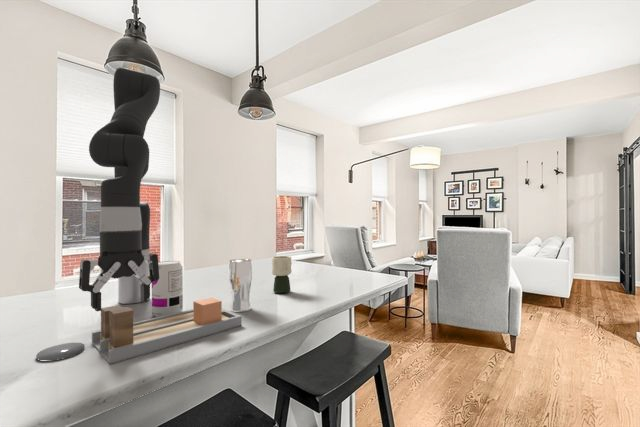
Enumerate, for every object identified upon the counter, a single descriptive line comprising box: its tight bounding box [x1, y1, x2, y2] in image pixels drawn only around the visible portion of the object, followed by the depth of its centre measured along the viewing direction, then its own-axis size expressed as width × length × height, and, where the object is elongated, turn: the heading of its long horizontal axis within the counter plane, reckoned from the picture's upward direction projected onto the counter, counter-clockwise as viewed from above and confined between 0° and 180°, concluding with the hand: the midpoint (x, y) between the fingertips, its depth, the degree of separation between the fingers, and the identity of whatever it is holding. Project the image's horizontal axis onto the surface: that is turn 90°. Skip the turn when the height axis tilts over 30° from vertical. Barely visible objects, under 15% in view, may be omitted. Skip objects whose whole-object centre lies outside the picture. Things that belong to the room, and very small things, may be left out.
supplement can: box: [151, 260, 184, 318], centre depth 95 cm, size 8×8×15 cm
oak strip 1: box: [100, 304, 194, 340], centre depth 81 cm, size 6×26×8 cm, turn 136°
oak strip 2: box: [108, 306, 228, 350], centre depth 77 cm, size 6×26×9 cm, turn 136°
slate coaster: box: [35, 342, 86, 361], centre depth 69 cm, size 8×8×1 cm
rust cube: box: [192, 297, 223, 325], centre depth 82 cm, size 5×5×5 cm
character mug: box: [271, 255, 293, 294], centre depth 120 cm, size 11×7×13 cm, turn 39°
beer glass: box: [227, 258, 253, 313], centre depth 99 cm, size 7×7×15 cm
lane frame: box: [91, 308, 243, 365], centre depth 79 cm, size 15×30×2 cm, turn 136°
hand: (121, 305), depth 68 cm, fingers open, 8 cm apart
